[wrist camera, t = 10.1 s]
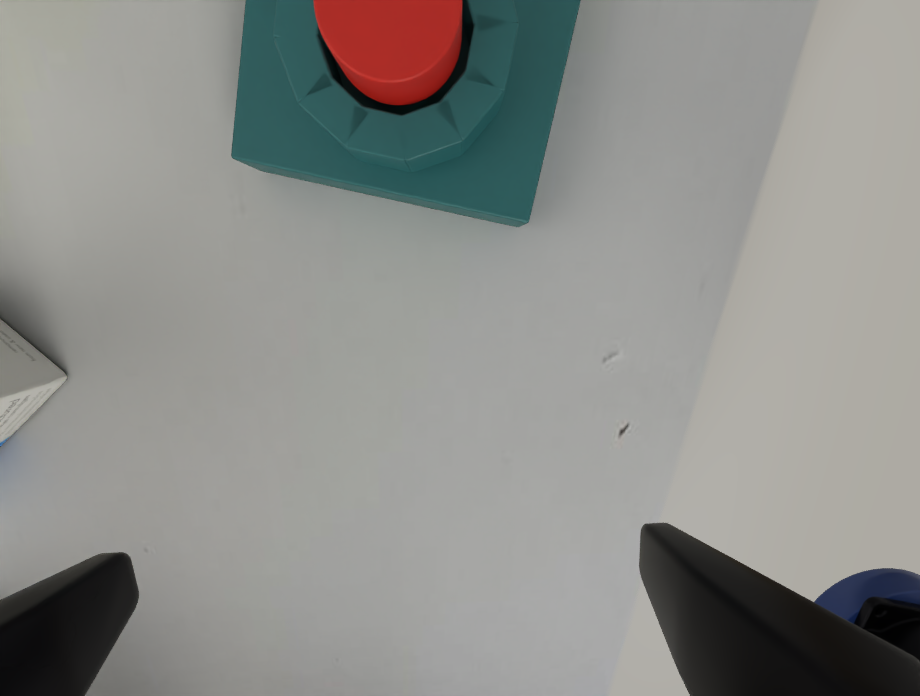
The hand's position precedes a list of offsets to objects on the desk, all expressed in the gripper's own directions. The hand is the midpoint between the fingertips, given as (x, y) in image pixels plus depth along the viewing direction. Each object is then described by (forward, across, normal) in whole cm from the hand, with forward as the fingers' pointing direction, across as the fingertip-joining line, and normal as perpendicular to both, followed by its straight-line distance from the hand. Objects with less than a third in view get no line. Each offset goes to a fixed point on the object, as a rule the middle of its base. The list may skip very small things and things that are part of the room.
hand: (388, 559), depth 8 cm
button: (+7, 0, -11) cm, 13 cm away
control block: (+11, 0, -11) cm, 15 cm away
